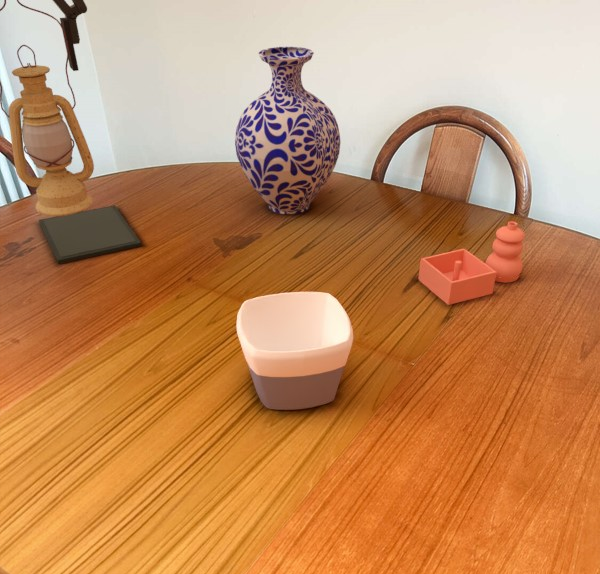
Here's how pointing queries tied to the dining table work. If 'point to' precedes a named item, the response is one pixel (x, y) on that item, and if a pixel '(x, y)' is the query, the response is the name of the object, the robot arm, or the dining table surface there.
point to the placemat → (88, 234)
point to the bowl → (295, 347)
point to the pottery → (474, 268)
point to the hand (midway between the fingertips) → (33, 73)
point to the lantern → (48, 141)
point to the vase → (287, 136)
